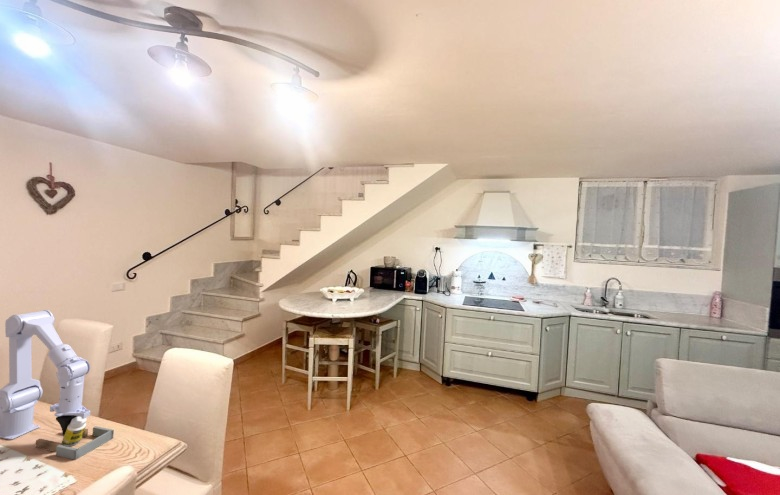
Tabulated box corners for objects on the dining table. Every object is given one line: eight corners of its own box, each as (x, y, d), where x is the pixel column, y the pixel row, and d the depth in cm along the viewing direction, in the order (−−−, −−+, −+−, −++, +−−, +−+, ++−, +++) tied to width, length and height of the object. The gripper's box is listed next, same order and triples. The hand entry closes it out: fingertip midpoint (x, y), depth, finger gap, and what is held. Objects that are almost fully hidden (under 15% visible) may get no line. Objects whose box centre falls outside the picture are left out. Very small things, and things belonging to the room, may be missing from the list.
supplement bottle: (67, 449, 104) (75, 426, 103) (58, 442, 105) (65, 420, 104) (84, 440, 108) (91, 419, 108) (75, 434, 109) (82, 413, 109)
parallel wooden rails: (35, 447, 103) (36, 440, 103) (67, 431, 112) (67, 425, 112) (57, 451, 102) (57, 444, 102) (87, 435, 111) (88, 429, 111)
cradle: (55, 455, 100) (56, 446, 100) (94, 434, 112) (95, 426, 112) (75, 459, 99) (76, 450, 99) (113, 437, 111) (113, 429, 111)
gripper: (40, 397, 104) (36, 437, 104) (74, 405, 101) (71, 445, 102) (65, 388, 111) (61, 425, 111) (98, 395, 108) (94, 432, 109)
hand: (68, 434), depth 107 cm, fingers closed, pressing on supplement bottle
